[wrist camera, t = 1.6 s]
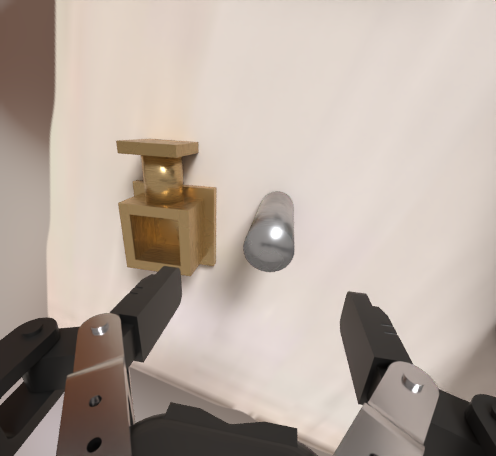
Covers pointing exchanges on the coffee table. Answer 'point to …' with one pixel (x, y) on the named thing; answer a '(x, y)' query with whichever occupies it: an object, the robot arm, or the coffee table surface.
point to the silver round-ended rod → (271, 234)
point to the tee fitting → (167, 210)
